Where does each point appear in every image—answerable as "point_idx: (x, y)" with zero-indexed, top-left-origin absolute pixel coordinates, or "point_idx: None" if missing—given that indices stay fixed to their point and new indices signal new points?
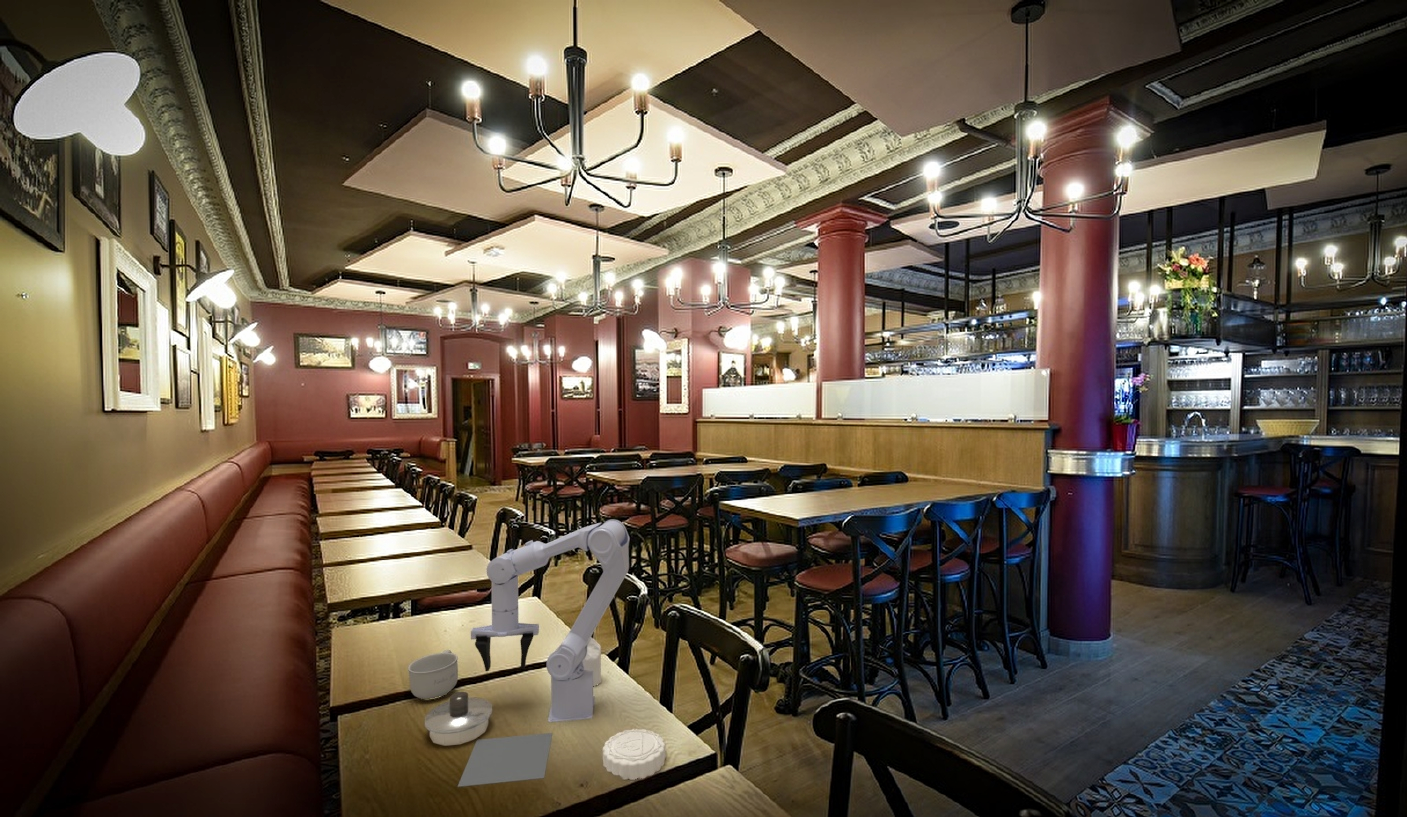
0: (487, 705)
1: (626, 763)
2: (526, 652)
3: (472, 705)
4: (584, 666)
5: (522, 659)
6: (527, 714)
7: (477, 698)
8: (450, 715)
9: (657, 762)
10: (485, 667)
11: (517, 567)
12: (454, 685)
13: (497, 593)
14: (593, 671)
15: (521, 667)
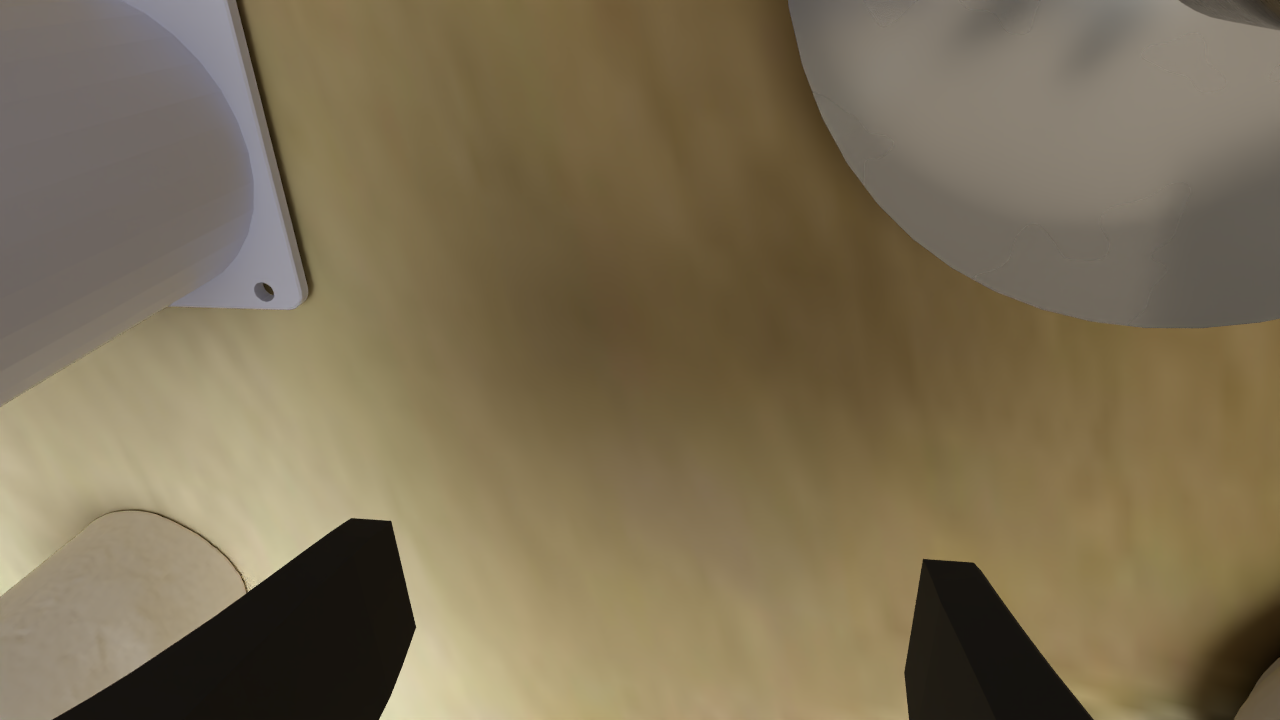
0: (858, 57)
1: None
2: (65, 716)
3: (1078, 87)
4: (27, 640)
5: (260, 615)
6: (485, 193)
7: (1015, 276)
8: None
9: None
10: (997, 605)
11: None
12: (1247, 713)
13: None
14: (3, 596)
15: (369, 528)
